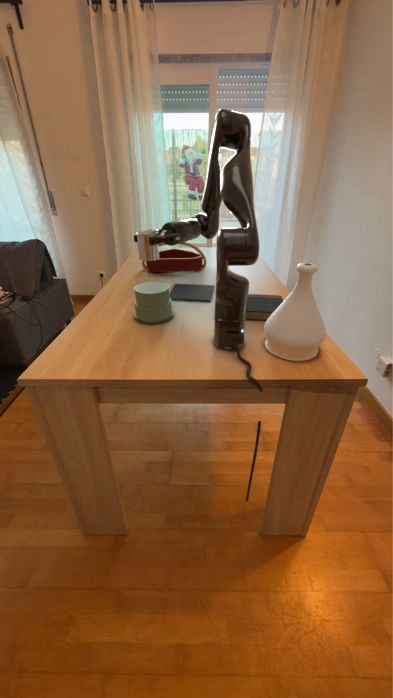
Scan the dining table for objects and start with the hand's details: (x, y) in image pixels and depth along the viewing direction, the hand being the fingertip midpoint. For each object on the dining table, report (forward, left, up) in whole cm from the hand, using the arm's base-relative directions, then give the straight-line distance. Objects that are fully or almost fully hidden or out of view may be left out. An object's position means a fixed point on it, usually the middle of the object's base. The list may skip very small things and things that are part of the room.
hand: (142, 240), depth 89 cm
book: (+12, -36, -27) cm, 47 cm away
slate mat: (+27, -11, -27) cm, 39 cm away
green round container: (+2, -1, -27) cm, 27 cm away
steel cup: (+2, -1, -6) cm, 6 cm away
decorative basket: (+59, +3, -27) cm, 65 cm away
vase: (-13, -48, -27) cm, 57 cm away
